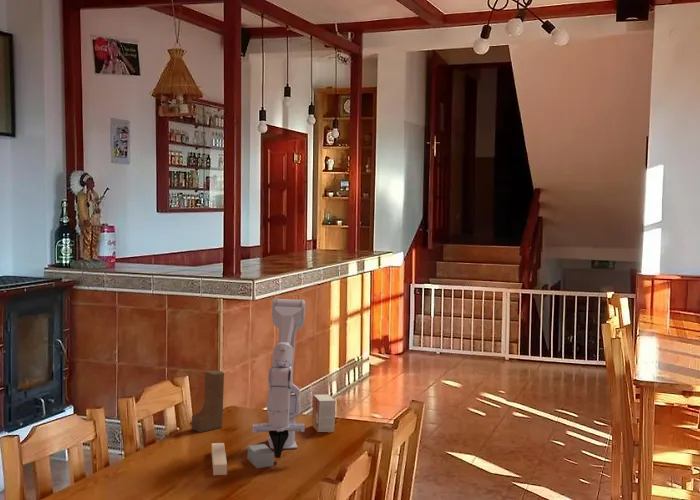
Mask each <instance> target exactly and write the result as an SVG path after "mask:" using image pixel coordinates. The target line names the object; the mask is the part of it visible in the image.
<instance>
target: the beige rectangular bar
mask: <svg viewBox="0 0 700 500" xmlns="http://www.w3.org/2000/svg"><path fill="white" fill-rule="evenodd" d="M211 463H212V475H213V476H227V475H228V462H227V454H226V447H225V442H215V443H214V442H213V443H211Z"/></svg>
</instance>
